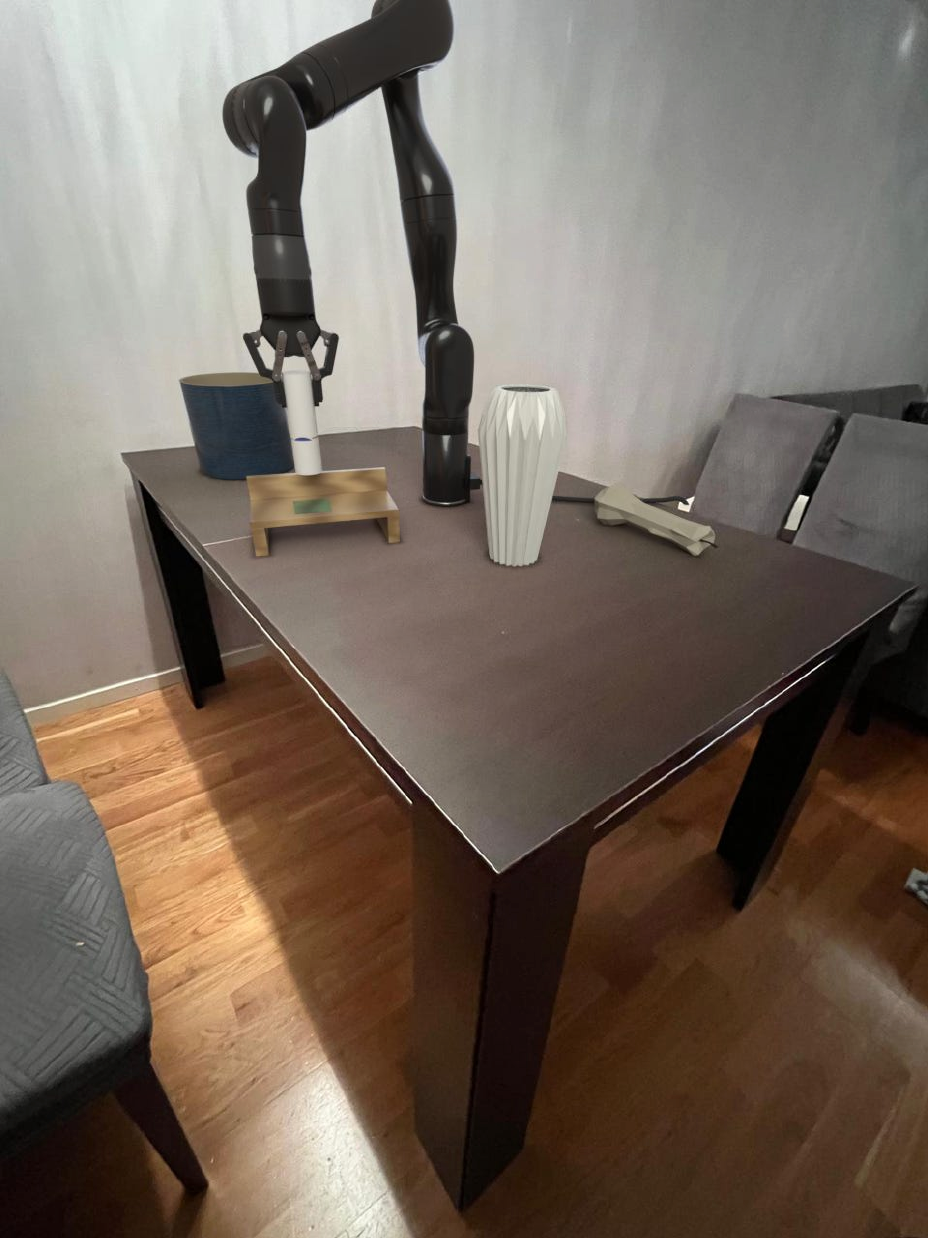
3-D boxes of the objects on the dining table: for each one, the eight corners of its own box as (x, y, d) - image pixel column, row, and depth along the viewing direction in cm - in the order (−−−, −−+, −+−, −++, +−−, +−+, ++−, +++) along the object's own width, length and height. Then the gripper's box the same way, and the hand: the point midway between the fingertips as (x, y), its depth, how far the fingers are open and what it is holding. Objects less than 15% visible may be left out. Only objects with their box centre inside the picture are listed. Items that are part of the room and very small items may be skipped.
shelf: (387, 518, 106) (384, 466, 101) (400, 542, 96) (397, 486, 91) (256, 530, 99) (246, 475, 94) (256, 556, 89) (244, 497, 84)
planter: (195, 461, 138) (175, 374, 127) (285, 452, 147) (273, 370, 136) (204, 485, 121) (181, 387, 110) (304, 474, 130) (292, 382, 119)
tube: (311, 466, 93) (299, 369, 85) (327, 471, 90) (316, 372, 83) (290, 471, 90) (275, 372, 82) (306, 476, 88) (292, 375, 80)
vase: (487, 578, 85) (496, 396, 71) (464, 544, 96) (468, 382, 82) (566, 569, 88) (589, 394, 74) (535, 538, 99) (550, 380, 85)
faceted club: (611, 508, 111) (727, 553, 95) (583, 528, 107) (699, 578, 92) (612, 469, 105) (737, 510, 89) (582, 488, 101) (707, 535, 86)
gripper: (332, 278, 81) (343, 400, 90) (230, 275, 77) (252, 403, 86) (339, 277, 75) (349, 409, 84) (227, 274, 71) (251, 412, 80)
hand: (300, 405), depth 85 cm, fingers closed on tube, 4 cm apart
